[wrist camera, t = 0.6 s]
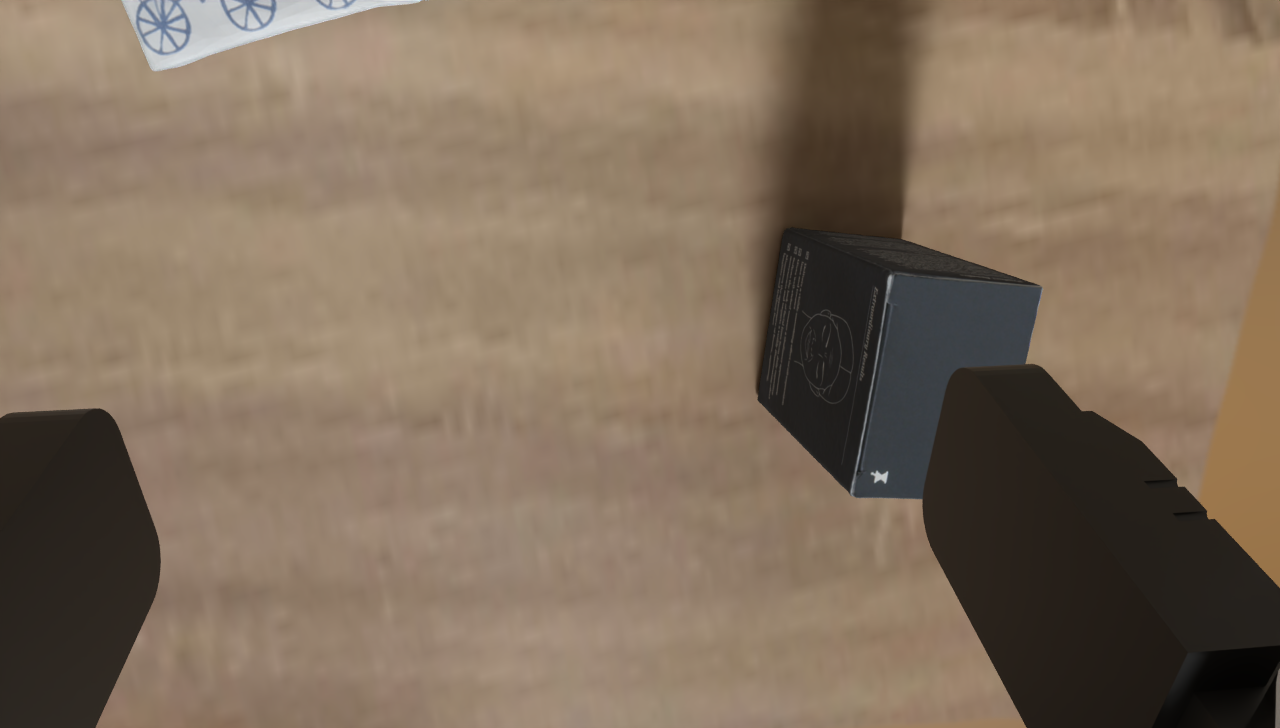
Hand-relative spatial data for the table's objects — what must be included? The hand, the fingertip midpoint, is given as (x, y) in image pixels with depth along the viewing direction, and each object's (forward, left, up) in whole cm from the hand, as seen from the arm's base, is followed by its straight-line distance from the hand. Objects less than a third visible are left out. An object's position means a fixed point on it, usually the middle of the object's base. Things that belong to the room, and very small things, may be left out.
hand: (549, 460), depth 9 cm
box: (+7, +14, -29) cm, 33 cm away
